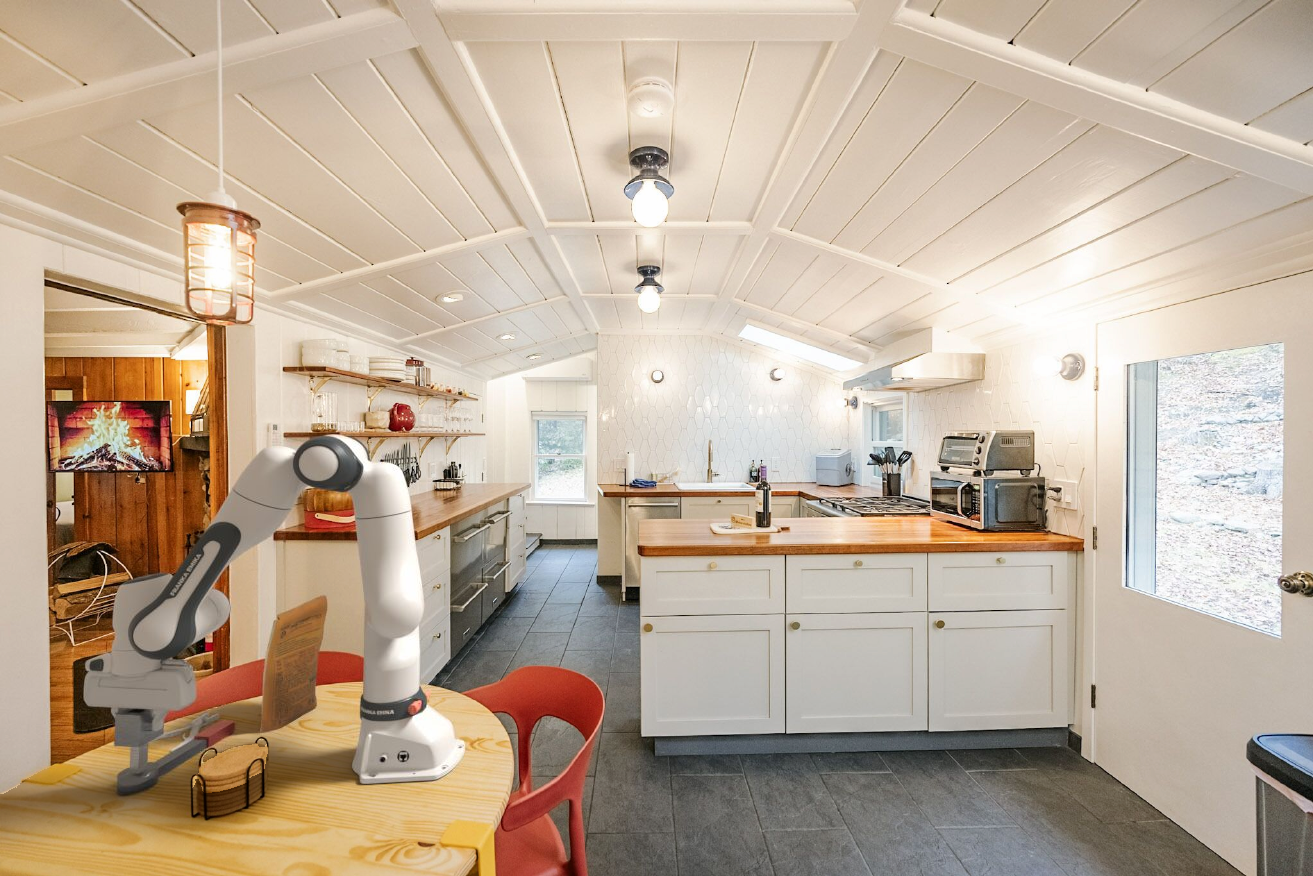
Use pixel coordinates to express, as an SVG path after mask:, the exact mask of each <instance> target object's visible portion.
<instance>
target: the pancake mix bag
mask: <svg viewBox="0 0 1313 876" xmlns="http://www.w3.org/2000/svg"><path fill="white" fill-rule="evenodd" d="M327 612H328V599H327V595H325V594H323V595H320V596H318V597H317V596H316V597H315V598H313V599H310V600H308V601H306V602H304V603H302V604H300V605H297V606H296V607H293V608H291V609H288V610H286V611H283V612H281V613H278V614H277V615H276V619H274V620H273V623H272V628H271V630H270V634H269V638H268V643H267V646H266V647H267V648H266V651H265V656H264V657H265V658H264V666H263V667H264V668H263V673H262V675H263V676H262V677H263V678H262V696H261V700H262V701H261V722H260V723H261V724H260V729H259V733H265V732H271V731H276V730H279V729H281V728H283V727H285V726H287V725H289V724H290V723H293V722H294V721H295V720H297V719H299V718H300V717H302V716H304V715H306V714H307V713H309V712H311V711H312V710H315V709H317V706H318V703H317V696H316V685H317V675H318V674H317V673H318V661H319V654H320V653H319V652H320V650H321V646H322V642H323V639H324V631H325V630H324V629H325V628H324V627H325V621H326V617H327Z"/></svg>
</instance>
